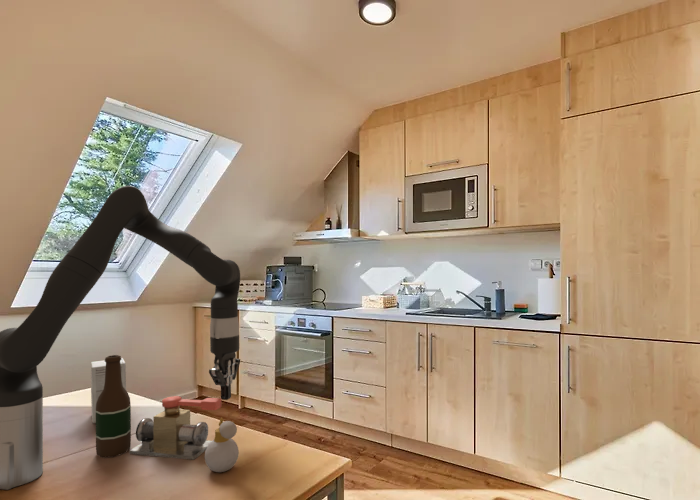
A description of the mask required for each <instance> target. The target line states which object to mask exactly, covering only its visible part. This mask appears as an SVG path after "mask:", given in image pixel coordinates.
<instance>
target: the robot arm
mask: <svg viewBox="0 0 700 500" xmlns="http://www.w3.org/2000/svg"><path fill="white" fill-rule="evenodd" d="M149 209H150V208H149V205H148V203H147V199H146V198H145V194H143V192H142V191H141V190H140V189H139V188H137V187H135V186H134V185H124V186H120V187H119V188H116V189H115V190H113V192H111V194H109V195H108V197H107V199H106V200H105V202H104V203H103V205H102V206H101V208H100V209H99V211H98V213H97V214H96V216H95V218H94V219H93V220H92V221H91V223H90V225H89V226H88V227H87V229H85V231H84V232H83V233H82V234H81V236H80V237H79V238H78V240H77V241H76V242H75V243H74V245H73V246H72V247H71V249H70V250H69V251H68V252H67V253H66V254H65V255H64V256H63V258H62V259H61V261H59V263H58V264H57V265H56V267H55V268H54V270H52V272H51V274H50V276H49V277H48V280H47V282H46V284H45V286H44V290H43V292H42V295H41V297H40V299H39V301H38V303H37V304H36V306H35V307H34V308H33V310H32V311H31V313H30V314H29V315H28V316H27V317H26V319H24V320H23V321H22V322H21V324H20V325H19V326H18V327H11V328H10V327H9V328H5V329H3V330H1V331H0V490H6V491H9V490H11V489H12V488H15V487H19V486H21V485H24V484H28V483H30V482H33V481H35V480H36V479H38V478H40V476H41V475H43V473H44V468H43V464H44V463H43V462H44V448H43V447H44V445H43V443H44V441H43V439H44V433H43V431H44V427H43V425H44V424H43V421H44V419H43V418H44V415H43V414H44V412H43V410H44V409H43V408H44V405H43V404H44V403H43V402H44V398H43V397H44V394H43V393H44V391H43V390H44V389H43V388H44V386H43V384H42V381H40V380H41V379H40V378H39V375H38V366H39V364H41V363H42V362H43V361H44V359H45V358H46V357H47V355H48V354H49V352H50V351H51V349H52V347H53V345H54V343H55V341H56V339H57V338H58V336H59V334H60V333H61V331H62V330H63V328H64V327H65V325H66V323H67V322H68V320H69V318H70V317H71V316H72V315H73V313H75V311H76V310H77V309H78V307H80V305H81V303H82V302H83V301H84V299H85V298H86V297H87V295H88V294H89V293H90V292H91V290H92V289H93V288H94V286H95V285H96V284H97V282H98V281H99V280H100V279H101V277H102V276H103V274H104V272H105V271H106V269H107V266H108V265H109V262H110V259H111V257H112V254H113V251H114V248H115V244H116V242H117V240H118V237H119V236H120V234H121V233H122V231H123V230H128V231H130V232H132V233H134V234H135V235H138V236H140V237H142V238H144V239H147V240H149V241H150V242H152V243H155V244H156V245H157V246H160V247H161V248H163V249H164V250H166V251H167V252H169V253H170V254H171V255H173V256H174V257H176V258H178V259H179V260H180V261H182V262H184V264H186V265H188V266H189V267H191V268H192V269H193V270H195V271H196V272H197V274H199V276H201V277H202V278H203V279H204V280H205V281H207V282H208V283H210V284H211V285H213V286H215V288H214V289H215V290H214V295H213V296H212V298H211V300H210V324H209V340H210V341H209V343H210V345H209V346H210V347H209V349H210V353H212V354H213V355H214V360H213V365H214V366H213V368H210V369H209V370H208V373H209V376H210V378H211V379H212V380H213V383H214V385H215V386H220V398H221V401H222V400H223V401H228V400H229V399H231V398H232V384H233V381H234V380H236V378H237V374H238V371H239V368H240V363H241V359H240V358H237V357H236V356H237V355H236V353H237V352H238V351H240V322H239V310H238V309H239V307H238V306H239V305H238V297H239V292H240V283H241V270H240V267H239V265H238V264H237V263H236V262H235V261H233V260H231V259H224V258H223V259H222V258H221V257H220V256H217V255H216V254H215V253H214V252H212V250H211V248H210V247H209V246H208V245H207V244H205V243H204V242H202V241H200V239H198V238H196V237H195V236H194V235H191V233H188V232H186V231H184V230H181V229H178V228H176V227H172V226H171V225H167V224H165V223H164V222H162V221H161V220H160V219H159V218H157V217H156V215H154V214H153V213H152V212H151V211H150V210H149Z"/></svg>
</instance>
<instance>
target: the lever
mask: <svg viewBox="0 0 700 500" xmlns="http://www.w3.org/2000/svg"><path fill="white" fill-rule="evenodd" d="M161 401H162V402H161V405H162V408H164V407H166V408H170V407H176V406H179V405H180V406H183V407H185V406H186V407H200V410H205V411H206V410H207V411H216V410H218V409H220V408H222V399H221V397H220V398H217V397H215V398H214V397H206V398H204V399H189V398H188V399H186V398H182V397H181V396H178V395H175V396H174V395H173V396H168V397H164V398H163V399H161Z"/></svg>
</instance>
